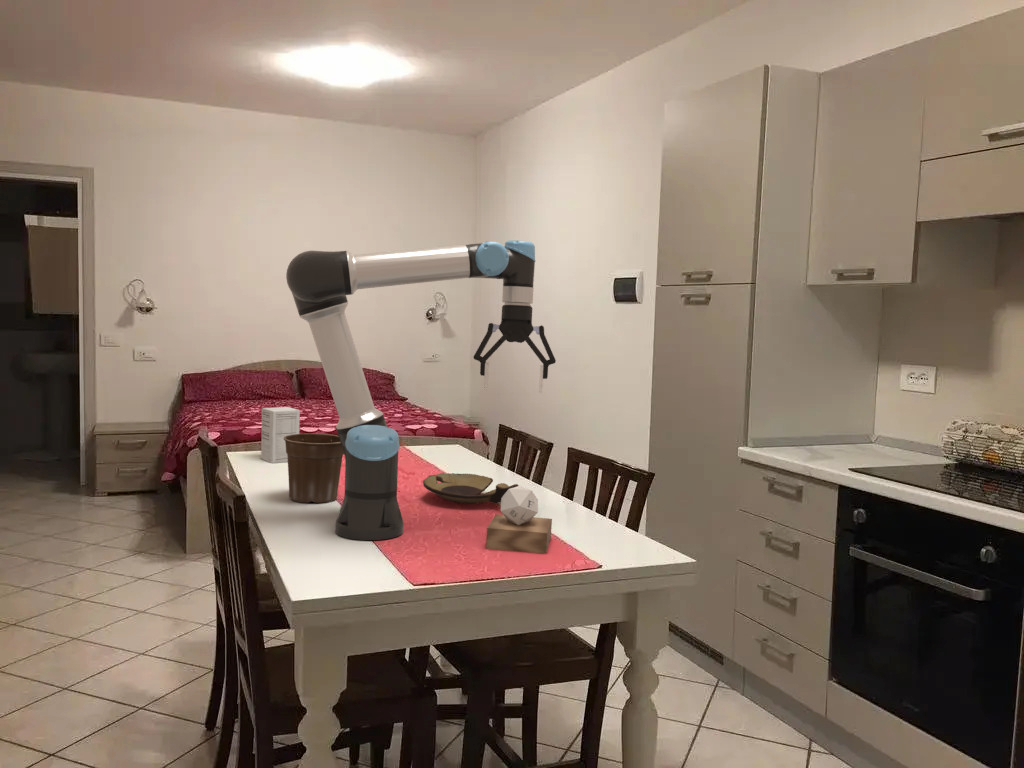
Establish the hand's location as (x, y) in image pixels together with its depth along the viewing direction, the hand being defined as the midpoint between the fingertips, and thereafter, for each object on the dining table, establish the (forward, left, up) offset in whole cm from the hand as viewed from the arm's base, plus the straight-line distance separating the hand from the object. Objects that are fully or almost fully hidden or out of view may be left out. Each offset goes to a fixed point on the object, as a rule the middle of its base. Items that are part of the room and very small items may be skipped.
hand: (513, 390), depth 204 cm
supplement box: (-77, +58, -32) cm, 102 cm away
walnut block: (+4, -24, -32) cm, 40 cm away
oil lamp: (-11, +13, -32) cm, 36 cm away
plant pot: (-51, +7, -32) cm, 61 cm away
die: (+3, -23, -27) cm, 36 cm away
